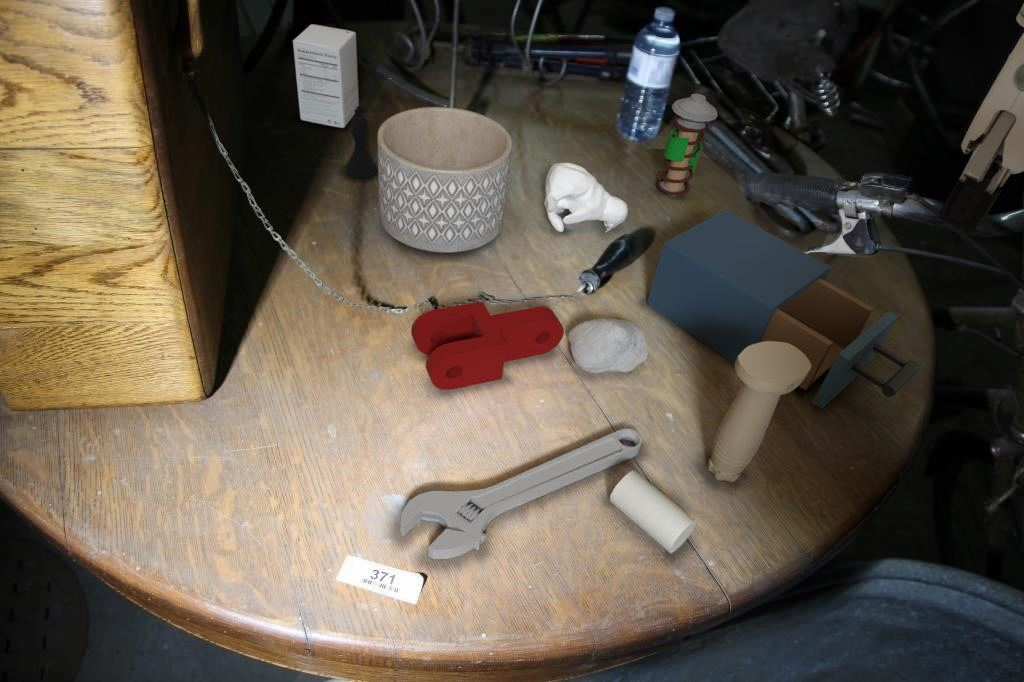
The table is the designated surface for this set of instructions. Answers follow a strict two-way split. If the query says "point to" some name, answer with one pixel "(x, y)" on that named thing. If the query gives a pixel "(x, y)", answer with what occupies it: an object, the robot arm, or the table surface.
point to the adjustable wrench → (509, 494)
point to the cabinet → (729, 281)
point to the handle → (755, 403)
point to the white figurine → (580, 198)
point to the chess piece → (360, 150)
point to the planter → (443, 178)
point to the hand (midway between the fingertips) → (957, 222)
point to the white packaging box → (326, 75)
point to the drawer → (836, 339)
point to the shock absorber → (685, 143)
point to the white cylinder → (652, 511)
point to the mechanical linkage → (481, 341)
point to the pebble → (608, 345)
